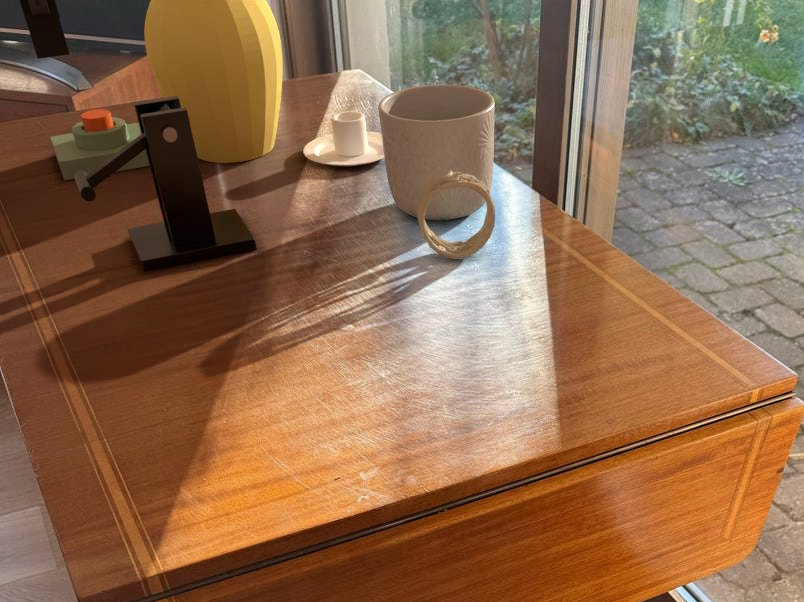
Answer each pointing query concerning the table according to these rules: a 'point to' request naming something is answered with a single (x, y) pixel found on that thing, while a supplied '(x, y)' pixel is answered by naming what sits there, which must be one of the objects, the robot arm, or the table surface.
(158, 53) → the vase
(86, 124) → the button
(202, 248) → the bracket
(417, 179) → the planter
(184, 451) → the table surface
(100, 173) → the lever
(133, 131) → the control block
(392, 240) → the table surface
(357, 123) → the candle holder
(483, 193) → the bracelet
